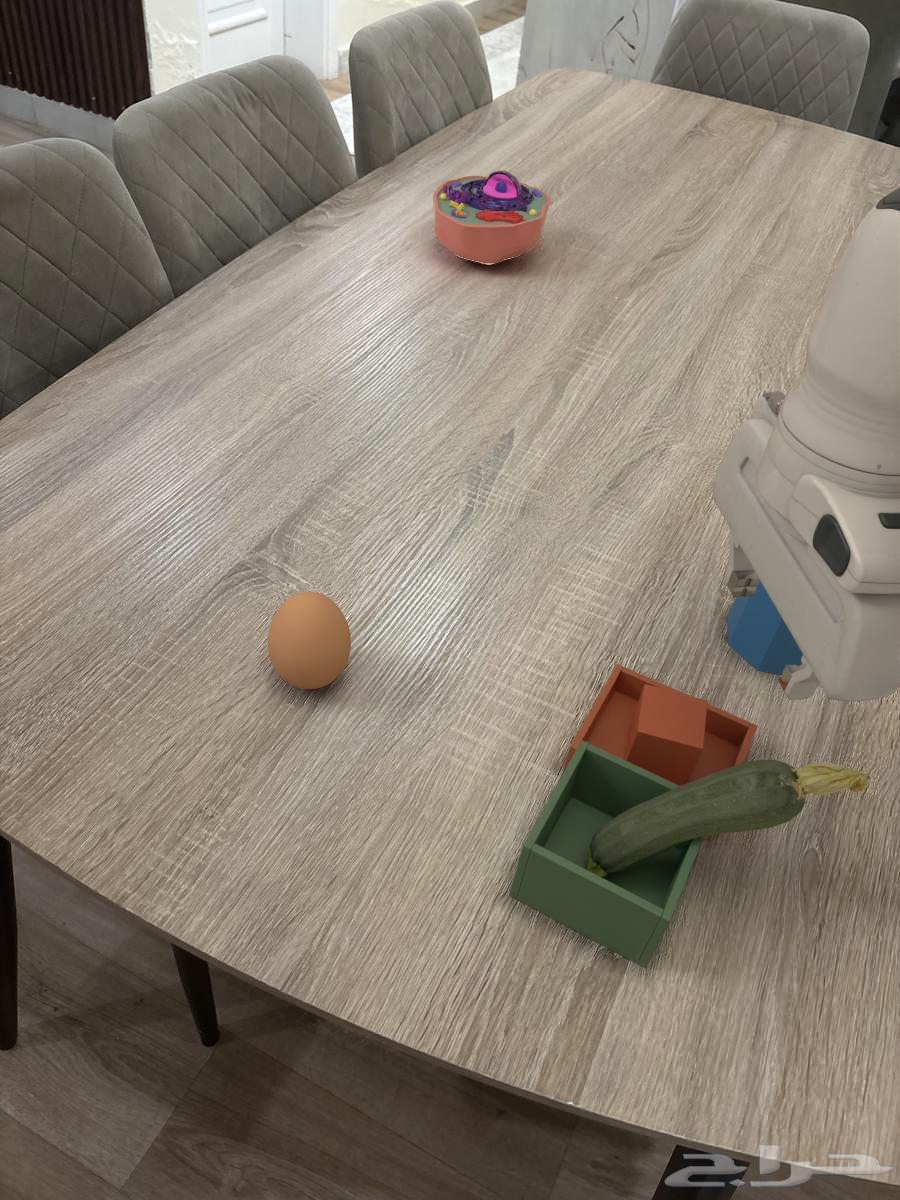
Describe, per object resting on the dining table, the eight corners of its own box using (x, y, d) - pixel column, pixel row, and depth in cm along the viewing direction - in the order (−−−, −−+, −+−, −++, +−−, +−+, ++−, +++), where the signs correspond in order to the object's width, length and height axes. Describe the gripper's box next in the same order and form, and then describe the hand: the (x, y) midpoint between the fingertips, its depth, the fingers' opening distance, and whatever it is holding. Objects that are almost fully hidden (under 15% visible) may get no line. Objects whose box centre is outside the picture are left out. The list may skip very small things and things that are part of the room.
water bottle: (807, 694, 82) (937, 461, 65) (708, 646, 85) (808, 411, 68) (837, 634, 88) (963, 405, 71) (744, 591, 91) (843, 362, 74)
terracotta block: (690, 739, 77) (707, 699, 73) (685, 787, 73) (703, 748, 70) (630, 723, 77) (644, 683, 74) (622, 770, 74) (637, 731, 70)
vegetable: (560, 834, 65) (840, 735, 56) (581, 814, 69) (847, 718, 60) (587, 893, 65) (874, 804, 55) (607, 870, 69) (879, 783, 59)
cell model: (399, 257, 138) (404, 178, 130) (474, 219, 150) (483, 145, 143) (496, 296, 132) (507, 215, 124) (565, 253, 144) (579, 177, 137)
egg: (338, 715, 76) (340, 637, 69) (258, 700, 76) (253, 620, 70) (358, 657, 80) (361, 578, 74) (283, 642, 81) (280, 563, 74)
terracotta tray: (746, 748, 77) (758, 725, 75) (710, 840, 70) (722, 818, 68) (609, 686, 81) (617, 663, 79) (563, 769, 74) (570, 746, 72)
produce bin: (691, 852, 70) (716, 803, 65) (645, 968, 63) (670, 921, 58) (565, 791, 72) (581, 739, 68) (508, 895, 66) (522, 845, 61)
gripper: (723, 377, 61) (670, 540, 70) (875, 594, 46) (782, 762, 56) (812, 376, 62) (748, 537, 71) (987, 588, 47) (878, 754, 57)
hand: (764, 638), depth 63 cm, fingers open, 8 cm apart
